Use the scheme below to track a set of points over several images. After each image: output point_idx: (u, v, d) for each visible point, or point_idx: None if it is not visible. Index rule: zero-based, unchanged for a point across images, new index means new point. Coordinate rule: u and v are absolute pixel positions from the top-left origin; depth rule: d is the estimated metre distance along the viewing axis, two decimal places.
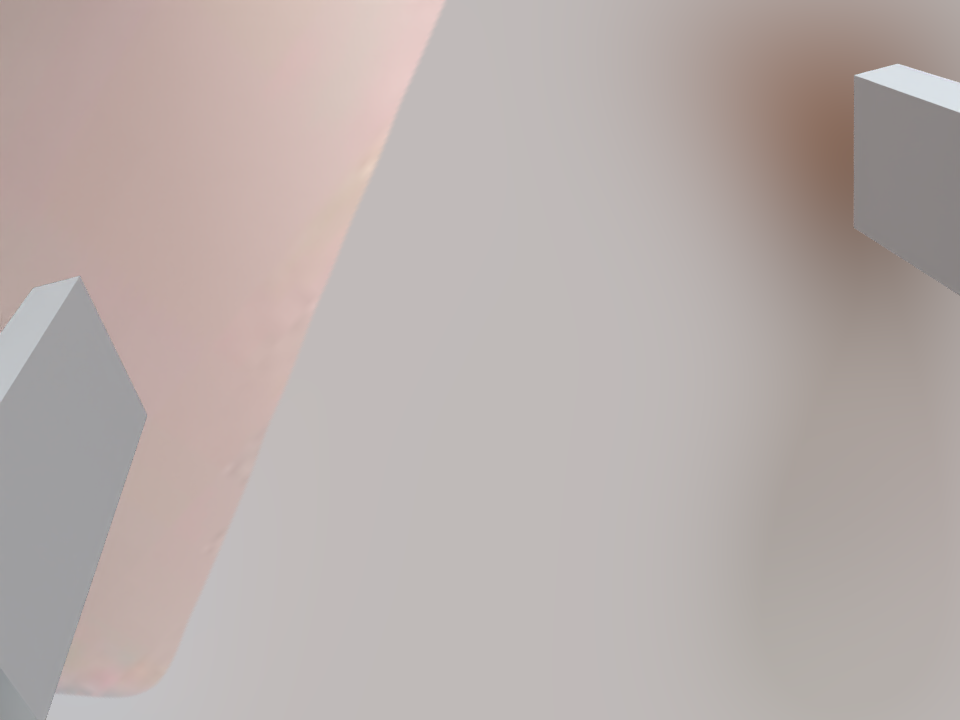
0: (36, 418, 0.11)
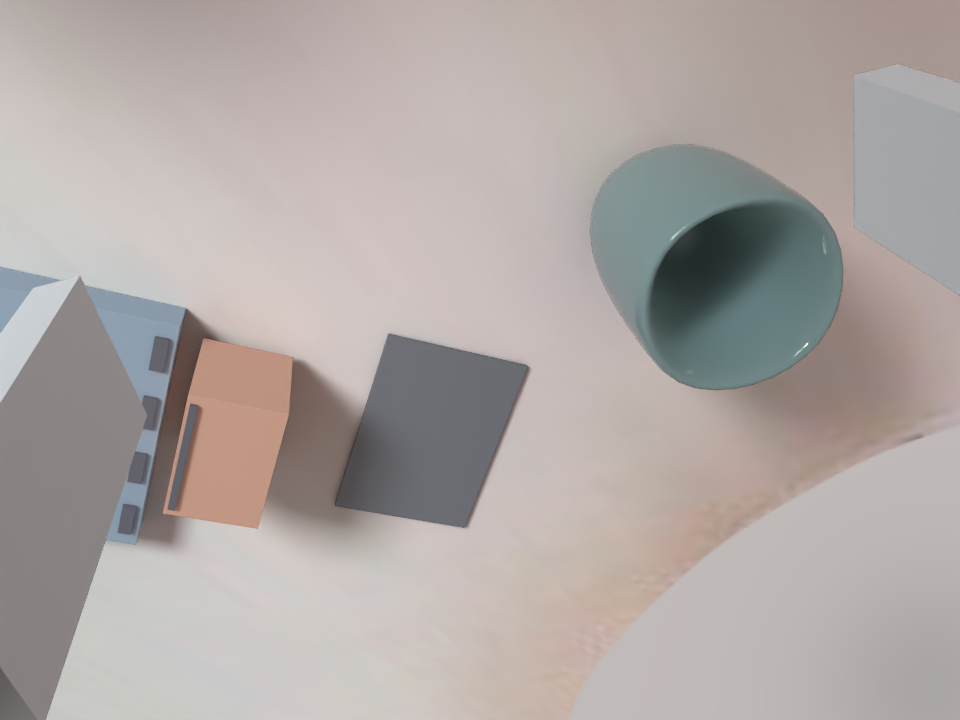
0: (35, 418, 0.11)
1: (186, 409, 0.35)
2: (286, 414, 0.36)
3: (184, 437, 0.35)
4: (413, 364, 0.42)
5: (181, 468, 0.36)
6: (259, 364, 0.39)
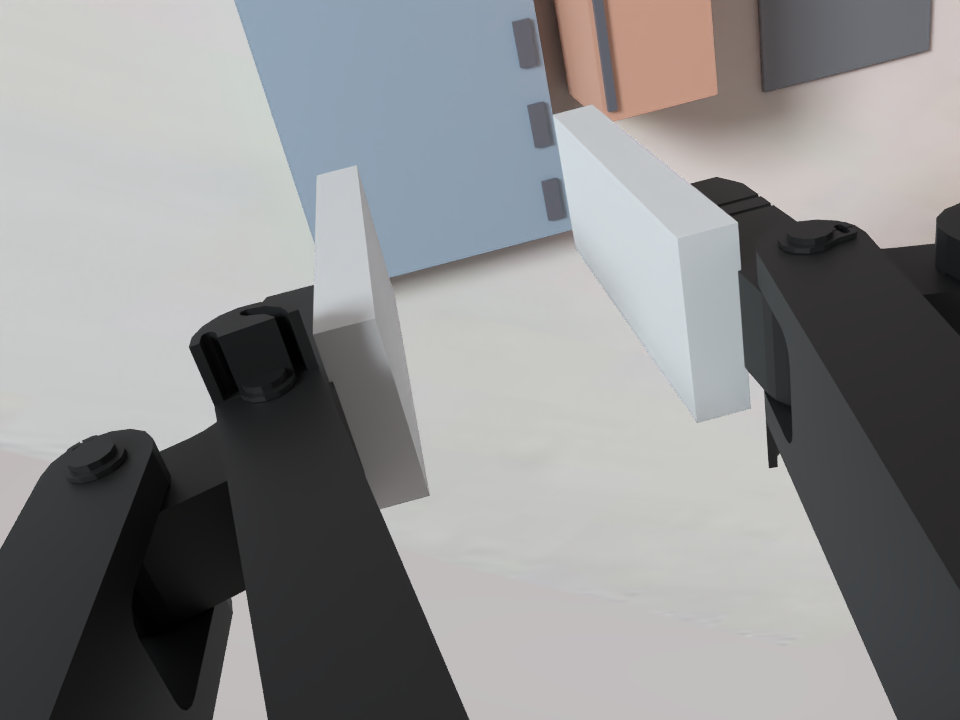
0: (374, 264, 0.13)
1: None
2: None
3: None
4: None
5: (605, 44, 0.28)
6: None
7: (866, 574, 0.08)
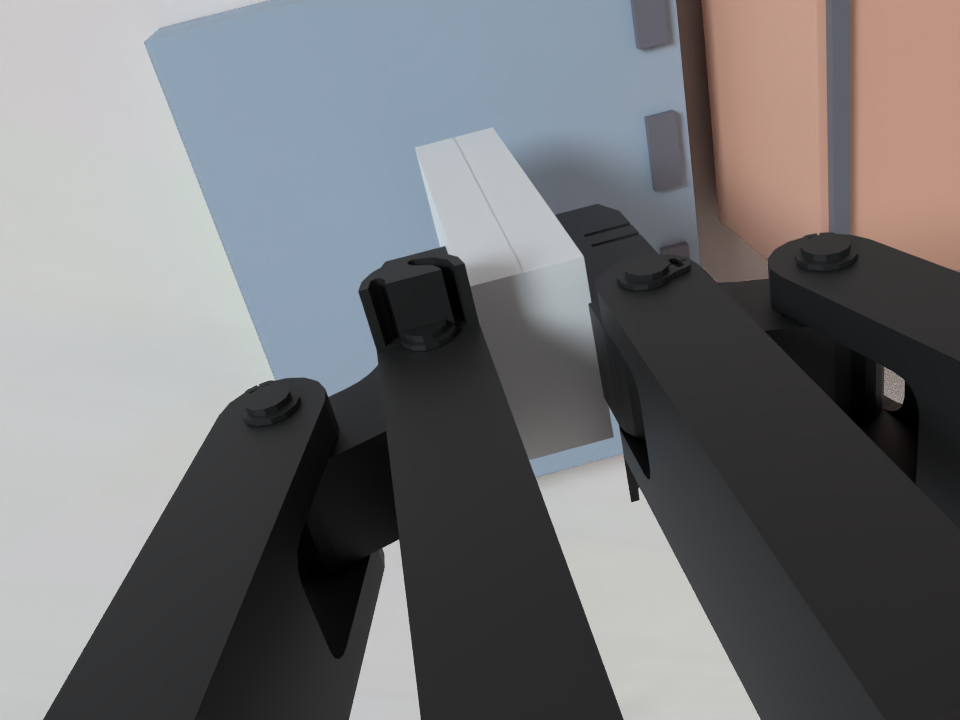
0: None
1: (819, 17, 0.14)
2: None
3: (836, 92, 0.15)
4: None
5: (843, 177, 0.15)
6: None
7: (735, 611, 0.08)
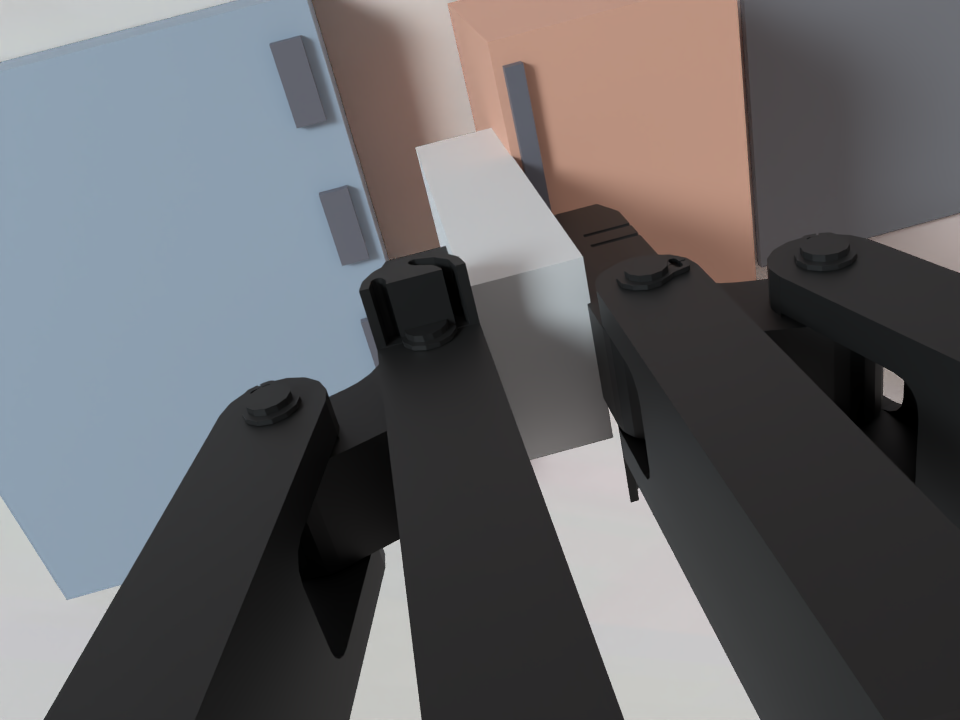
0: None
1: (500, 87, 0.14)
2: None
3: (527, 160, 0.14)
4: None
5: None
6: None
7: (734, 611, 0.08)
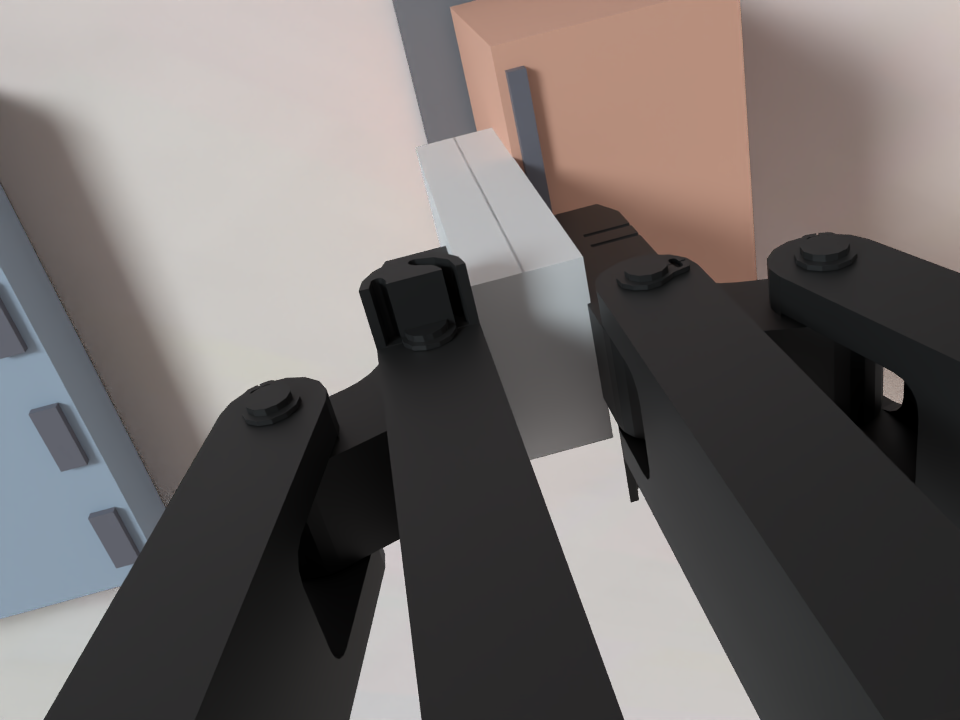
0: None
1: (502, 91, 0.14)
2: None
3: (528, 165, 0.14)
4: None
5: None
6: None
7: (734, 611, 0.08)
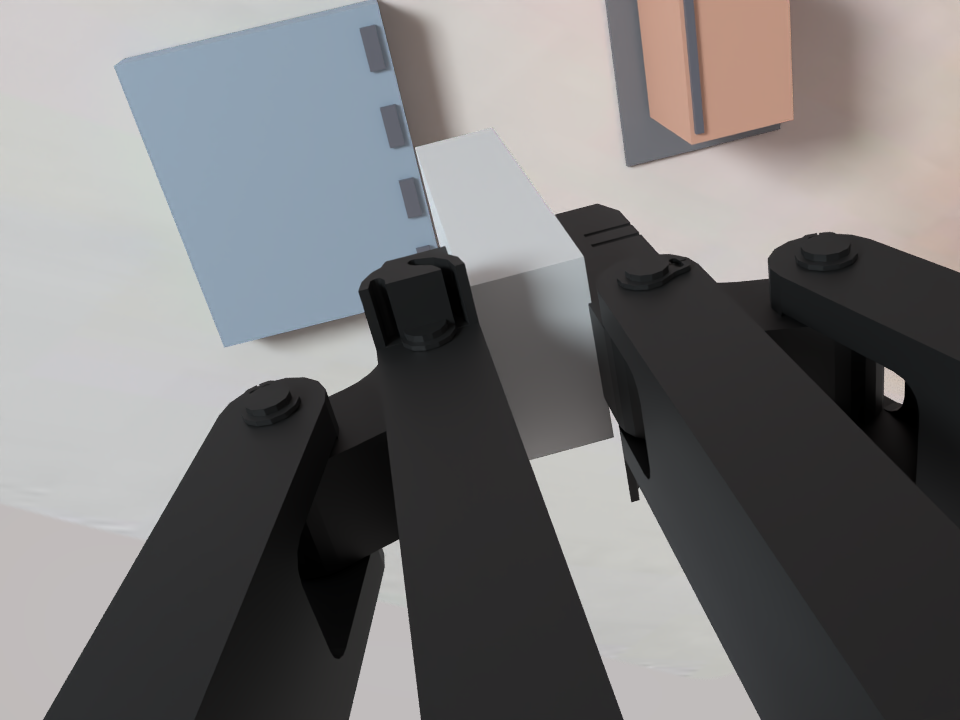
0: None
1: None
2: None
3: (689, 32, 0.31)
4: None
5: (696, 74, 0.32)
6: None
7: (734, 611, 0.08)
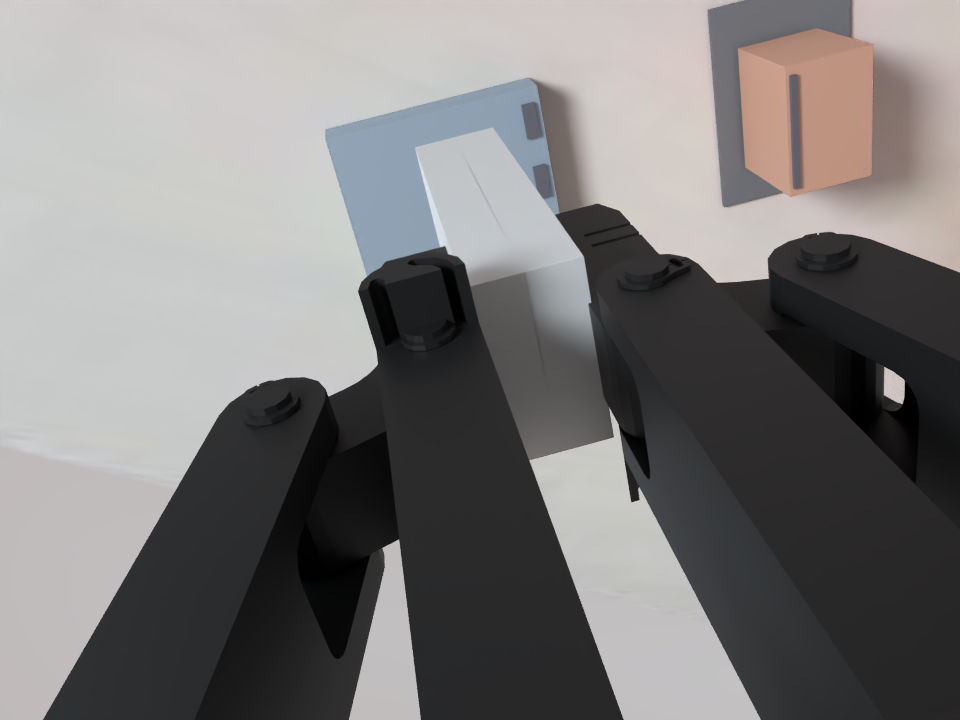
0: None
1: (786, 83, 0.38)
2: (870, 46, 0.38)
3: (793, 110, 0.39)
4: (742, 28, 0.42)
5: (797, 143, 0.40)
6: (802, 39, 0.41)
7: (734, 611, 0.08)
